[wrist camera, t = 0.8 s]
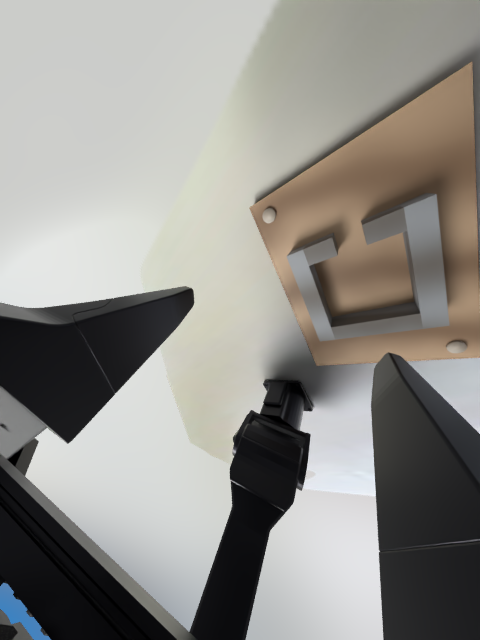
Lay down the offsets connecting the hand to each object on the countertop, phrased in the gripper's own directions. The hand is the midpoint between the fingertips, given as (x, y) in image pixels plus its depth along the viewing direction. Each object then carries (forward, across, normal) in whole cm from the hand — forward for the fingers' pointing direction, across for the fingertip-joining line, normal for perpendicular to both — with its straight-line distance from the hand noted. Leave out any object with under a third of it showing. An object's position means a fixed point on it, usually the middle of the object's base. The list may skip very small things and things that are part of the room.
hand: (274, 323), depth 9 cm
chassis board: (+13, -5, +1) cm, 14 cm away
